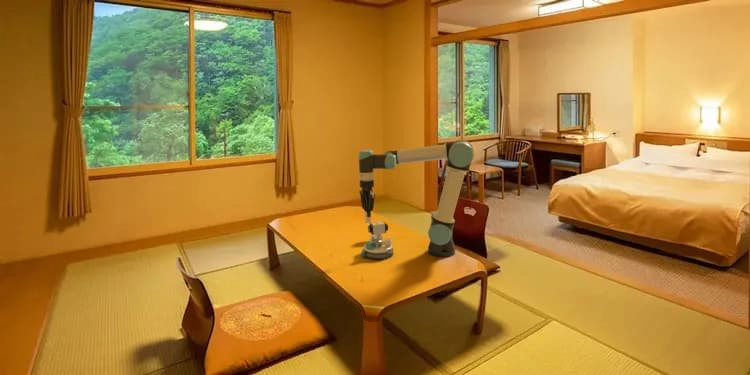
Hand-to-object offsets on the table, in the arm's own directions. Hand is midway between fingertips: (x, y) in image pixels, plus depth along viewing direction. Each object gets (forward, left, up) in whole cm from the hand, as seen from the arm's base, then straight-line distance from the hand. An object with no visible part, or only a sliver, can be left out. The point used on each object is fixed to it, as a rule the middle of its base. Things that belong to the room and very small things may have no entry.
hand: (368, 222), depth 228 cm
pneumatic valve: (+13, -25, -20) cm, 35 cm away
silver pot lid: (-2, -5, -20) cm, 21 cm away
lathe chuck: (-2, -5, -17) cm, 18 cm away
